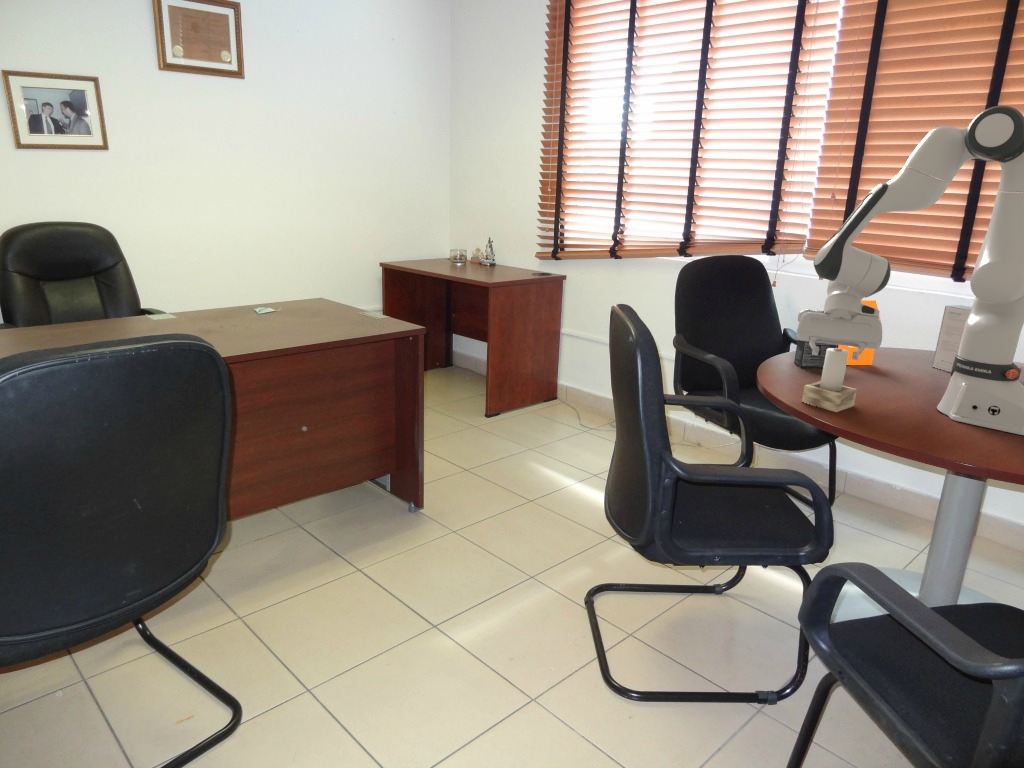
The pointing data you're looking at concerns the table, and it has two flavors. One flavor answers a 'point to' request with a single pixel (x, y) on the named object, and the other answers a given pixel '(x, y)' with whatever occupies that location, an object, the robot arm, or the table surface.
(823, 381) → the paper roll
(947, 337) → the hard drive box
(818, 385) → the open wooden box
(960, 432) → the table surface
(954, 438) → the table surface
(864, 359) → the orange juice
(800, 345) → the small box
